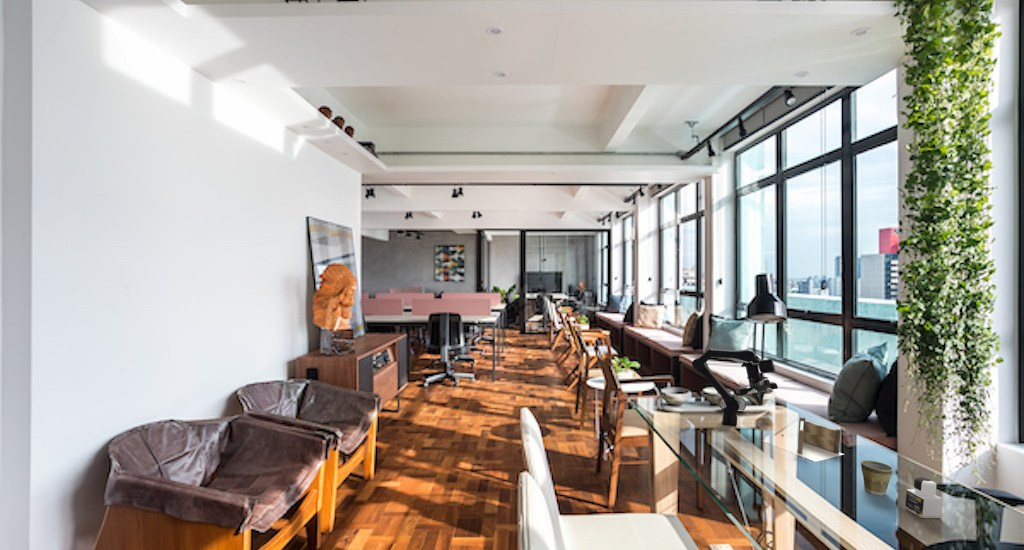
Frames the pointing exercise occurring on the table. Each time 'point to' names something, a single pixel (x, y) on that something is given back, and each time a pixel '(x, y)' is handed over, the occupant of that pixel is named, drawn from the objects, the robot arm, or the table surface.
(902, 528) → the table surface
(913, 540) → the table surface
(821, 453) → the card
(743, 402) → the tin
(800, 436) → the folding panel
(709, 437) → the table surface
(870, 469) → the ceramic cup
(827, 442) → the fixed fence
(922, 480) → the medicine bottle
